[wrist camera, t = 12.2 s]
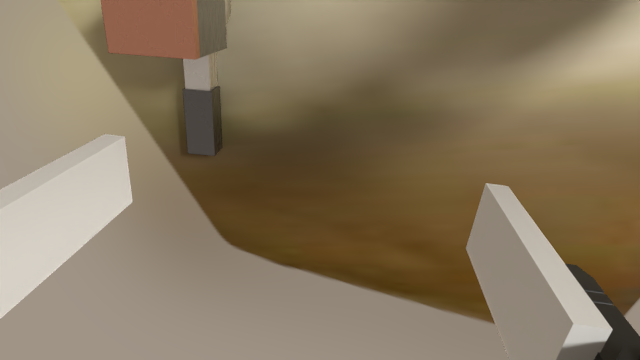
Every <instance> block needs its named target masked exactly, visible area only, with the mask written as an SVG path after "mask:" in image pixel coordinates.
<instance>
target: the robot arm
mask: <svg viewBox="0 0 640 360" xmlns="http://www.w3.org/2000/svg"><path fill="white" fill-rule="evenodd" d="M131 203H132V193H131V185H130V176H129V169H128V160H127V151H126V143H125V137H124V136H117V135H110V134H104V135H102V136H100V137H98V138H96V139H94V140H92V141H91V142H88V143H87V144H85V145H83V146H81V147H79V148H77V149H75V150H73V151H71V152H70V153H68V154H66V155H64V156H62V157H60V158H58V159H57V160H55V161H53V162H51V163H49V164H47V165H45V166H43V167H41V168H39V169H38V170H36V171H34V172H32V173H30V174H28V175H26V176H24V177H23V178H21V179H19V180H17V181H15V182H13V183H11V184H9V185H7V186H6V187H4V188H2V189H0V319H1V318H2V317H3V316H4V315H5V314H6V313H7V312H9V311H10V310H11V309H12V308H13V307H14V306H15V305H17V303H19V302H20V301H21V300H22V299H23V298H24V297H26V296H27V295H28V294H29V293H30V292H31V291H32V290H33V289H35V288H36V287H37V286H38V285H39V284H40V283H41V282H42V281H44V280H45V279H46V278H47V277H48V276H49V275H50V274H52V272H54V271H55V270H56V269H57V268H58V267H59V266H61V265H62V264H63V263H64V262H65V261H66V260H67V259H69V258H70V257H71V256H72V255H73V254H74V253H75V252H77V251H78V250H79V249H80V248H81V247H82V246H83V245H84V244H86V243H87V242H88V241H89V240H90V239H91V238H92V237H93V236H95V235H96V234H97V233H98V232H99V231H100V230H101V229H103V228H104V227H105V226H106V225H107V224H108V223H109V222H110V221H112V219H114V218H115V217H116V216H117V215H118V214H119V213H120V212H122V211H123V210H124V209H125V208H126V207H127V206H129V205H130V204H131ZM466 250H467V252H468V255H469V257H470V260H471V263H472V265H473V268H474V270H475V273H476V275H477V278H478V281H479V283H480V286H481V288H482V291H483V293H484V296H485V299H486V301H487V304H488V306H489V309H490V312H491V314H492V317H493V319H494V322H495V324H496V327H497V330H498V332H499V335H500V337H501V340H502V342H503V345H504V348H505V350H506V353H507V355H508V358H509V360H640V336H639V335H638V334H637V333H636V331H635V330H634V329H633V328H632V326H631V325H630V324H629V322H628V321H627V320H626V319H625V317H624V316H623V315H622V314H621V312H620V311H619V310H618V309H617V307H616V306H613V302H612V301H611V300H610V299H609V297H608V296H607V295H606V294H604V291H603V290H602V289H601V287H600V286H599V285H598V283H597V282H596V281H595V280H594V278H592V277H591V276H590V275H588V274H587V273H586V272H584V271H583V270H582V269H581V268H579V267H578V266H577V265H571V264H565V263H564V262H563V261H562V259H561V258H560V257H559V255H558V254H557V253H556V251H555V250H554V248H553V247H552V246H551V244H550V243H549V242H548V240H547V239H546V237H545V236H544V235H543V233H542V232H541V231H540V229H539V228H538V227H537V225H536V224H535V222H534V221H533V220H532V218H531V217H530V216H529V214H528V213H527V212H526V210H525V209H524V207H523V206H522V205H521V203H520V202H519V201H518V199H517V198H516V196H515V195H514V194H513V192H512V191H511V190H510V188H509V187H508V186H502V185H495V184H487V183H486V184H485V187H484V191H483V194H482V197H481V201H480V204H479V207H478V211H477V214H476V217H475V221H474V224H473V227H472V230H471V234H470V237H469V240H468V244H467V247H466Z"/></svg>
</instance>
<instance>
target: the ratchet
mask: <svg viewBox="0 0 640 360" xmlns="http://www.w3.org/2000/svg"><path fill="white" fill-rule="evenodd" d="M230 13H231V1H230V0H225V14H226V24H227V22H228V20H229V17H230ZM183 65H184V77H185V88H184V89H183V99H184V111H185V123H186V136H187V148H188V153H190V154H201V155H212V156H215V155H216V154H217V153H218V152H219V151H220V150H221V149H222V129H221V106H220V86H218V79H217V57H216V52H215V53H212V54H209V55H206V56H204V57H201V58H198V59H196V60H194V59H183Z"/></svg>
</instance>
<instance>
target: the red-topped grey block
mask: <svg viewBox="0 0 640 360" xmlns="http://www.w3.org/2000/svg"><path fill="white" fill-rule="evenodd" d="M101 6H102V12H103V19H104V25H105V32H106V38H107V45H108V52H109V53H118V54H130V55H143V56H156V57H169V58H181V59H194V60H196V59H198V58H201V57H204V56H206V55H209V54H212V53H215V52H217V51H220V50H223V49H225V48H227V43H226V14H225V0H101Z"/></svg>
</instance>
